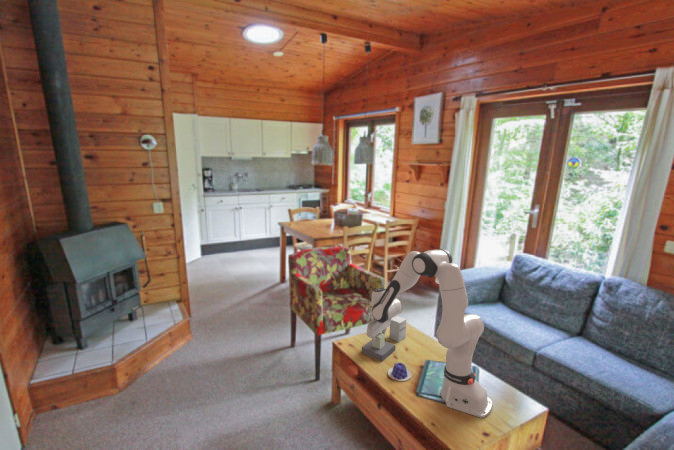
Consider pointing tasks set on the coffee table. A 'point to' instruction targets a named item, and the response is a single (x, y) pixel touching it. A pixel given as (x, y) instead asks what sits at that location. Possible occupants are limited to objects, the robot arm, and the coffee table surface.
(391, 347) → the base block
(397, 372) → the pudding
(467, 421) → the coffee table surface
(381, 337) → the sage block
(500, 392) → the coffee table surface
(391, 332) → the supplement box
